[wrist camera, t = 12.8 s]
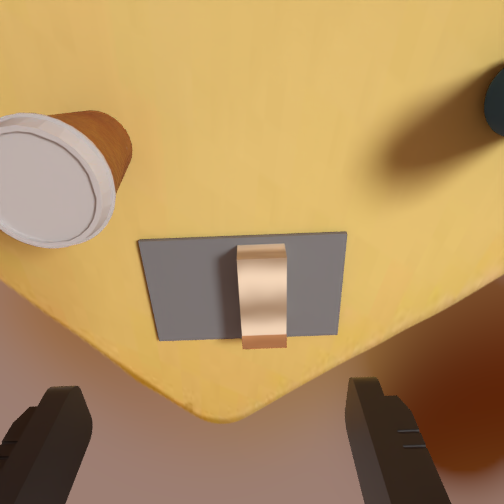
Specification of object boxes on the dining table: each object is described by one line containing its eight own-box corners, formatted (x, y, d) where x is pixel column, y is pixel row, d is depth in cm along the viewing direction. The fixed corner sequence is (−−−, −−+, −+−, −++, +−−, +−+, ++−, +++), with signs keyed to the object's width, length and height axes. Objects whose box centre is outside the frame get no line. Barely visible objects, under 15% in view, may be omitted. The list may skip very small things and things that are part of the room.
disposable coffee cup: (108, 70, 32) (41, 87, 22) (169, 167, 36) (137, 220, 26) (22, 122, 34) (-76, 160, 24) (90, 208, 39) (31, 273, 28)
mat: (160, 338, 47) (159, 341, 47) (139, 239, 40) (138, 241, 40) (336, 332, 47) (337, 334, 47) (346, 231, 40) (347, 233, 40)
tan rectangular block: (237, 245, 40) (236, 259, 38) (284, 243, 40) (287, 257, 38) (243, 331, 46) (242, 349, 44) (284, 329, 46) (286, 347, 43)
